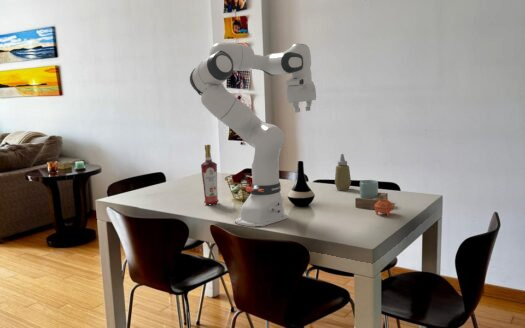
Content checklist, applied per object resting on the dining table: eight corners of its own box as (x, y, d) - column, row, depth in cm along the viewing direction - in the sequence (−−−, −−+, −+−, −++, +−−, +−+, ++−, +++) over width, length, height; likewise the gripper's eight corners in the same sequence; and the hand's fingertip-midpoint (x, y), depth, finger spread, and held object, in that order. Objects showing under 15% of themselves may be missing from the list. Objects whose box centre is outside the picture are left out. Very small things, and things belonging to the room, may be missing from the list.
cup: (377, 206, 213) (377, 183, 212) (359, 205, 216) (358, 183, 214) (378, 201, 221) (378, 180, 219) (361, 201, 223) (360, 179, 221)
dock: (375, 209, 208) (375, 200, 207) (355, 207, 213) (355, 198, 213) (387, 202, 219) (387, 193, 219) (368, 200, 225) (368, 191, 224)
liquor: (218, 201, 236) (214, 143, 231) (220, 205, 229) (216, 145, 224) (202, 203, 234) (198, 144, 230) (204, 206, 227) (200, 146, 223)
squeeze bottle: (331, 189, 249) (330, 154, 246) (342, 187, 254) (341, 152, 251) (344, 192, 242) (343, 156, 239) (354, 189, 248) (353, 153, 245)
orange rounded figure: (375, 217, 196) (374, 200, 197) (374, 216, 204) (372, 199, 205) (396, 216, 195) (395, 199, 196) (393, 215, 203) (392, 198, 204)
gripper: (307, 80, 233) (308, 109, 235) (283, 81, 217) (285, 113, 219) (319, 79, 229) (319, 109, 232) (296, 81, 213) (297, 113, 215)
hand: (302, 111), depth 225 cm, fingers open, 8 cm apart
